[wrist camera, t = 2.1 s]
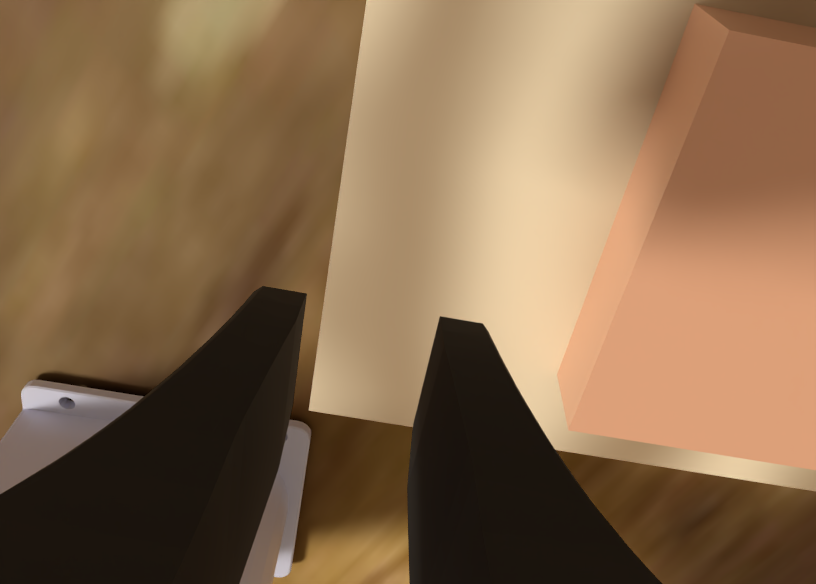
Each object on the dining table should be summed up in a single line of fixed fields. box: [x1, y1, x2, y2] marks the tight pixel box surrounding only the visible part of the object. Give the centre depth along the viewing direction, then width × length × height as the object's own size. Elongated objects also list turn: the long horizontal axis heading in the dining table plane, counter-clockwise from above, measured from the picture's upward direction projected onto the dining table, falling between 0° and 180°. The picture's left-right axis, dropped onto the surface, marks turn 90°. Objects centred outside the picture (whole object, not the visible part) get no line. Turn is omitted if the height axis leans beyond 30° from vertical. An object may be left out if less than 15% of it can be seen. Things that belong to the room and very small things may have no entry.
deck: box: [309, 0, 816, 491], centre depth 18 cm, size 16×14×4 cm
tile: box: [557, 4, 816, 470], centre depth 16 cm, size 6×9×2 cm, turn 170°
